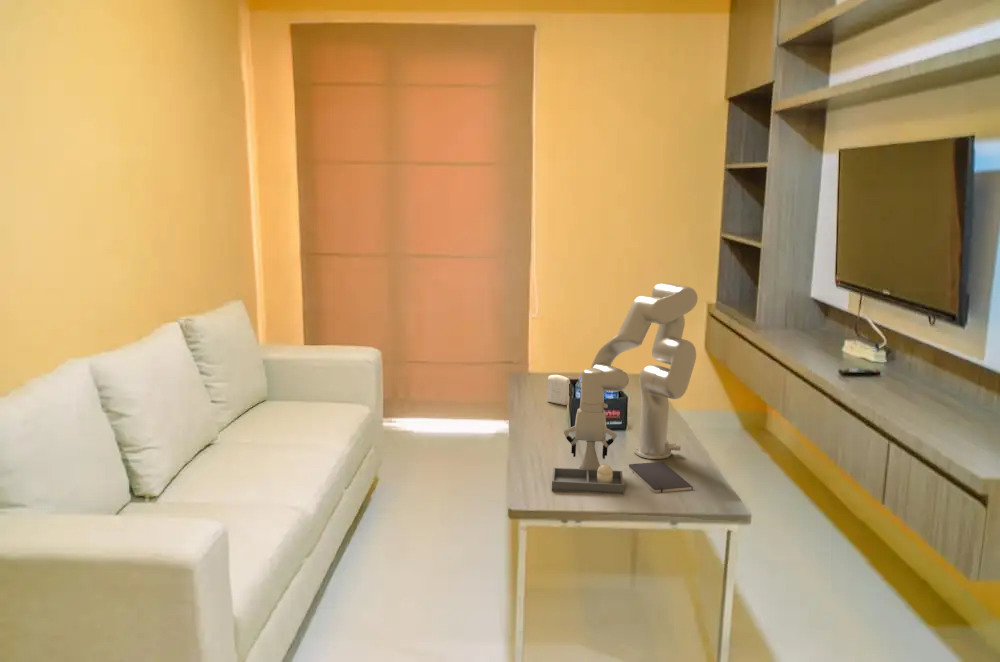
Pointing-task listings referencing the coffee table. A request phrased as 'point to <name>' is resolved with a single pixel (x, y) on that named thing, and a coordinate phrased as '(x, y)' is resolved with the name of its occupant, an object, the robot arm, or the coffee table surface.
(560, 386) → the photo printer
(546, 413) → the coffee table surface
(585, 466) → the flask
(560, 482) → the tray
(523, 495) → the coffee table surface
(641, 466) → the notebook
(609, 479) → the cream egg
